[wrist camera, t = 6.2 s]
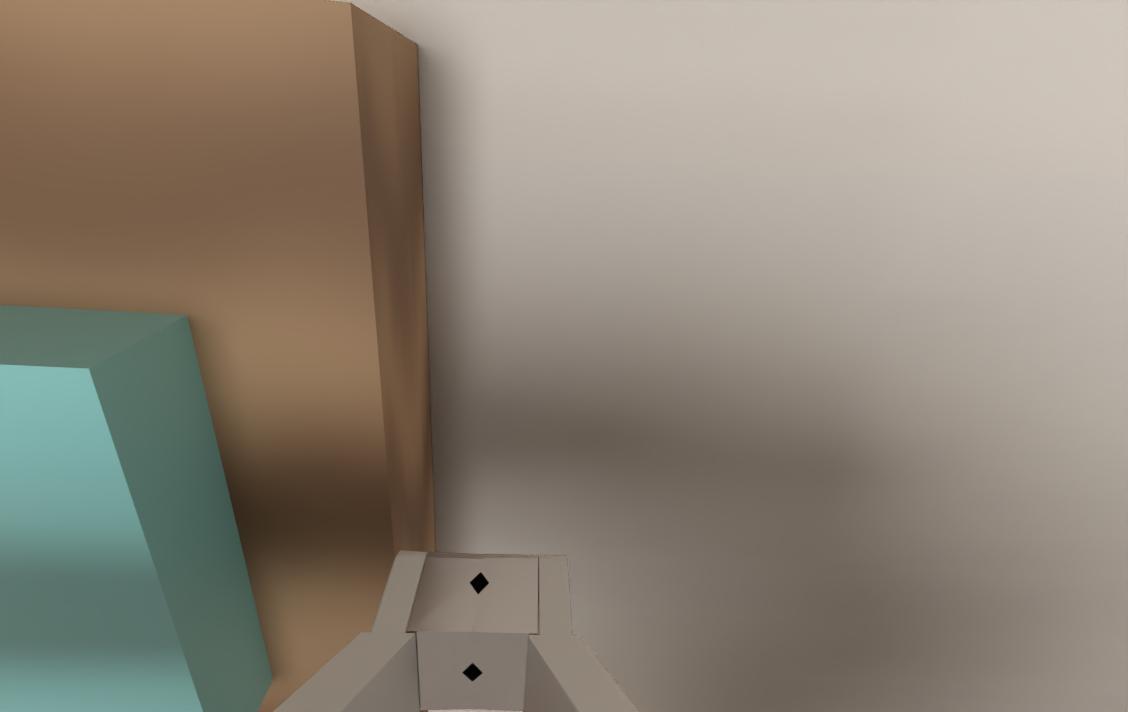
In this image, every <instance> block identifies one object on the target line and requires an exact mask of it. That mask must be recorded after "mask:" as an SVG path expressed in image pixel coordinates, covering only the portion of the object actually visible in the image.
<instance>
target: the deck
mask: <svg viewBox="0 0 1128 712" xmlns="http://www.w3.org/2000/svg"><path fill="white" fill-rule="evenodd" d="M0 305H9V306H27V307H46V308H65V309H83V310H102V311H120V312H139V313H157V314H176V315H187V318H188V322H189V326H190V330H191V335H192V339H193V343H194V347H195V351H196V356H197V360H198V364H199V368H200V373H201V377H202V381H203V385H204V389H205V394H206V398H207V402H208V406H209V411H210V415H211V419H212V423H213V428H214V432H215V436H216V440H217V444H218V449H219V453H220V457H221V461H222V466H223V470H224V474H225V478H226V483H227V487H228V491H229V495H230V499H231V504H232V508H233V512H234V516H235V521H236V525H237V529H238V533H239V538H240V542H241V546H242V550H243V554H244V559H245V563H246V567H247V571H248V576H249V580H250V584H251V588H252V593H253V597H254V601H255V605H256V609H257V614H258V618H259V622H260V626H261V631H262V635H263V639H264V643H265V648H266V652H267V656H268V660H269V664H270V669H271V673H272V677H273V681H272V683H271V685H270V687H269V689H268V691H267V693H266V695H265V697H264V699H263V702H262V704H261V706H260V708H259V710H258V712H273V711H274V710H275V709H276V708H277V707H279V706H280V705H281V704H282V703H283V702H284V701H285V700H286V699H287V698H289V697H290V696H291V695H292V694H293V693H294V692H295V691H296V690H297V689H299V688H300V687H301V686H302V685H303V684H304V683H305V682H306V681H307V680H308V679H310V678H311V677H312V676H313V675H314V674H315V673H316V672H317V671H318V670H320V669H321V668H322V667H323V666H324V665H325V664H326V663H327V662H328V661H329V660H331V659H332V658H333V657H334V656H335V655H336V654H337V653H338V652H339V651H341V650H342V649H343V648H344V647H345V646H346V645H347V644H348V643H349V642H350V641H352V640H353V639H354V638H355V637H356V636H357V635H358V634H359V633H360V632H370V631H371V628H372V625H373V622H374V619H375V616H376V613H377V610H378V607H379V604H380V601H381V598H382V595H383V592H384V589H385V586H386V583H387V580H388V577H389V574H390V571H391V568H392V565H393V562H394V559H395V557H396V556H397V554H398V553H399V551H400V550H402V551H420V552H429V551H431V552H436V548H435V520H434V492H433V464H432V437H431V409H430V381H429V353H428V325H427V298H426V270H425V242H424V214H423V187H422V159H421V131H420V103H419V75H418V48H417V44H416V43H414V42H413V41H411V40H410V39H408V38H406V37H405V36H403V35H401V34H400V33H398V32H397V31H395V30H393V29H392V28H390V27H389V26H387V25H385V24H384V23H382V22H381V21H379V20H377V19H376V18H374V17H373V16H371V15H369V14H368V13H366V12H364V11H363V10H361V9H360V8H358V7H356V6H355V5H353V4H352V3H348V2H337V1H326V0H0ZM420 712H428V710H420Z"/></svg>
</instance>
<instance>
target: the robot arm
mask: <svg viewBox="0 0 1128 712" xmlns="http://www.w3.org/2000/svg"><path fill="white" fill-rule="evenodd" d="M446 709H487V710H514V711H523V712H638V710H637V709H636V708H635V706H634V705H633V704H632V702H631V701H630V700H629V698H628V697H627V696H626V694H625V693H624V692H623V690H622V689H621V688H620V687H619V685H618V684H617V683H616V681H615V680H614V679H613V677H612V676H611V675H610V673H609V672H608V671H607V669H606V668H605V667H604V665H603V664H602V663H601V661H600V660H599V659H598V658H597V656H596V655H595V654H594V652H593V651H592V650H591V648H590V647H589V646H588V644H587V643H586V642H585V640H584V639H583V638H582V636H573V635H572V619H571V603H570V587H569V571H568V559H567V557H566V555H539V556H538V555H523V554H468V553H449V552H431V551H429V552H420V551H402V550H400V551H399V553H398V554H397V556H396V557H395V559H394V562H393V565H392V568H391V571H390V574H389V577H388V580H387V583H386V586H385V589H384V592H383V595H382V598H381V601H380V604H379V607H378V610H377V613H376V616H375V619H374V622H373V625H372V628H371V631H370V632H360V633H359V634H358V635H357V636H356V637H355V638H354V639H353V640H352V641H350V642H349V643H348V644H347V645H346V646H345V647H344V648H343V649H342V650H341V651H339V652H338V653H337V654H336V655H335V656H334V657H333V658H332V659H331V660H329V661H328V662H327V663H326V664H325V665H324V666H323V667H322V668H321V669H320V670H318V671H317V672H316V673H315V674H314V675H313V676H312V677H311V678H310V679H308V680H307V681H306V682H305V683H304V684H303V685H302V686H301V687H300V688H299V689H297V690H296V691H295V692H294V693H293V694H292V695H291V696H290V697H289V698H287V699H286V700H285V701H284V702H283V703H282V704H281V705H280V706H279V707H277V708H276V709H275V710H274V711H273V712H420V710H446Z"/></svg>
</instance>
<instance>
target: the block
mask: <svg viewBox="0 0 1128 712" xmlns="http://www.w3.org/2000/svg"><path fill="white" fill-rule="evenodd" d="M272 681H273V677H272V673H271V669H270V664H269V660H268V656H267V652H266V648H265V643H264V639H263V635H262V631H261V626H260V622H259V618H258V614H257V609H256V605H255V601H254V597H253V593H252V588H251V584H250V580H249V576H248V571H247V567H246V563H245V559H244V554H243V550H242V546H241V542H240V538H239V533H238V529H237V525H236V521H235V516H234V512H233V508H232V504H231V499H230V495H229V491H228V487H227V483H226V478H225V474H224V470H223V466H222V461H221V457H220V453H219V449H218V444H217V440H216V436H215V432H214V428H213V423H212V419H211V415H210V411H209V406H208V402H207V398H206V394H205V389H204V385H203V381H202V377H201V373H200V368H199V364H198V360H197V356H196V351H195V347H194V343H193V339H192V335H191V330H190V326H189V322H188V318H187V315H176V314H157V313H139V312H120V311H102V310H83V309H65V308H46V307H27V306H9V305H0V712H258V710H259V708H260V706H261V704H262V702H263V699H264V697H265V695H266V693H267V691H268V689H269V687H270V685H271V683H272Z"/></svg>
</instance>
